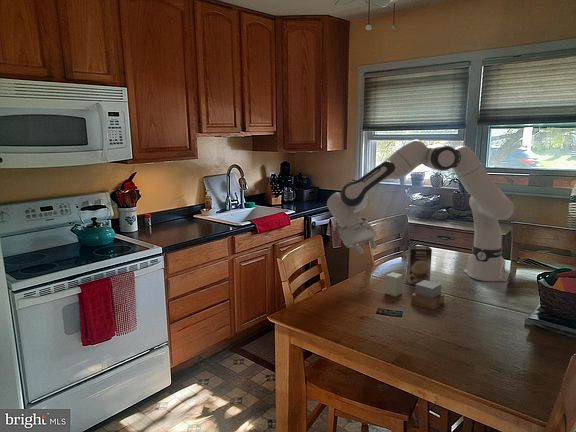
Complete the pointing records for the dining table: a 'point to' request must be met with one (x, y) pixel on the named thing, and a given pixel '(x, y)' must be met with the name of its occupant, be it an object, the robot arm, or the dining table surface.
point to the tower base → (427, 301)
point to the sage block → (393, 284)
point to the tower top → (428, 289)
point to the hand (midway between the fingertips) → (369, 250)
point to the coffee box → (418, 264)
